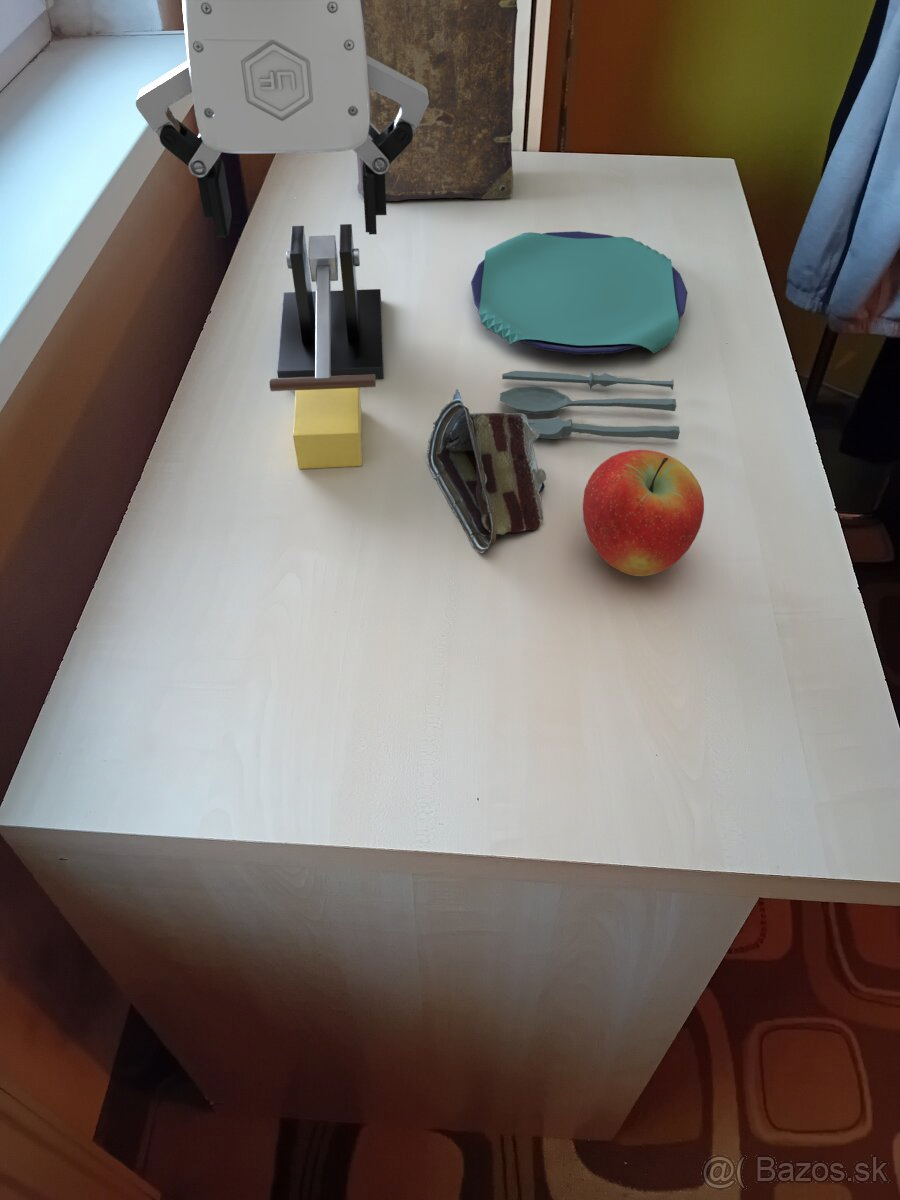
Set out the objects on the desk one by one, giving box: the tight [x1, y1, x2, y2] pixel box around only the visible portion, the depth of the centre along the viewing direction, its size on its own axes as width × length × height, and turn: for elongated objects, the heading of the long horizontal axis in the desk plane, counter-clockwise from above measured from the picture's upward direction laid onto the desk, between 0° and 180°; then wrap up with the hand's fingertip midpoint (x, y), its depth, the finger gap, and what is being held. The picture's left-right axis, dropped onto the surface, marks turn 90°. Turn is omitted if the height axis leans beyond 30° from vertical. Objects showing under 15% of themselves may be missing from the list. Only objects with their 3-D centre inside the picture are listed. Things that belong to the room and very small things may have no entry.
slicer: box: [276, 223, 385, 380], centre depth 83 cm, size 12×9×10 cm
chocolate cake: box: [426, 388, 547, 554], centre depth 73 cm, size 10×7×12 cm
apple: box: [582, 449, 705, 577], centre depth 66 cm, size 8×8×10 cm
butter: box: [292, 388, 363, 470], centre depth 77 cm, size 5×7×3 cm
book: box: [355, 0, 519, 202], centre depth 95 cm, size 17×7×25 cm, turn 90°
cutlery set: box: [470, 230, 688, 440], centre depth 86 cm, size 20×30×2 cm, turn 175°
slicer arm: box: [269, 234, 377, 392], centre depth 77 cm, size 16×8×2 cm, turn 4°
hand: (298, 225), depth 64 cm, fingers open, 9 cm apart
